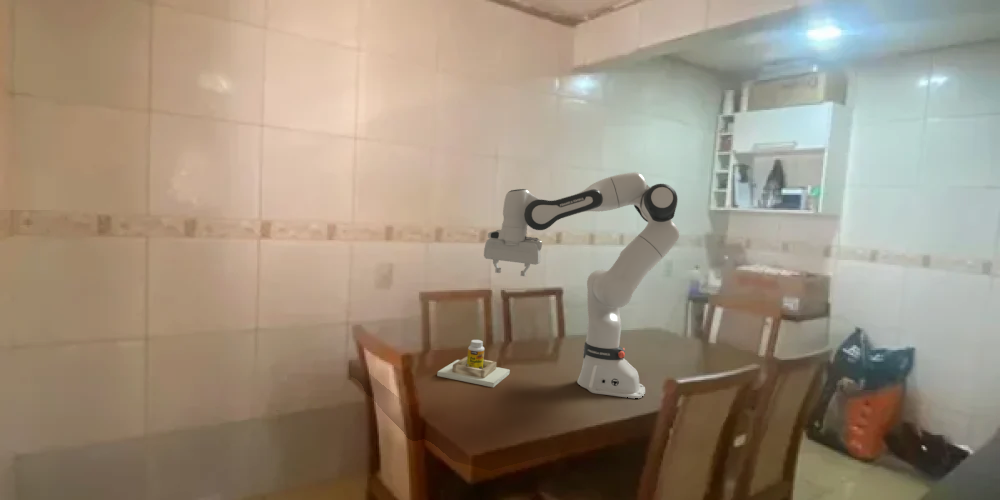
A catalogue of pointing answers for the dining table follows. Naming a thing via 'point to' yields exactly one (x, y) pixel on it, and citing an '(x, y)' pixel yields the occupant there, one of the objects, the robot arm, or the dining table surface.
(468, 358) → the supplement bottle
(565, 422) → the dining table surface
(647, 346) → the dining table surface
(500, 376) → the holder
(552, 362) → the dining table surface
